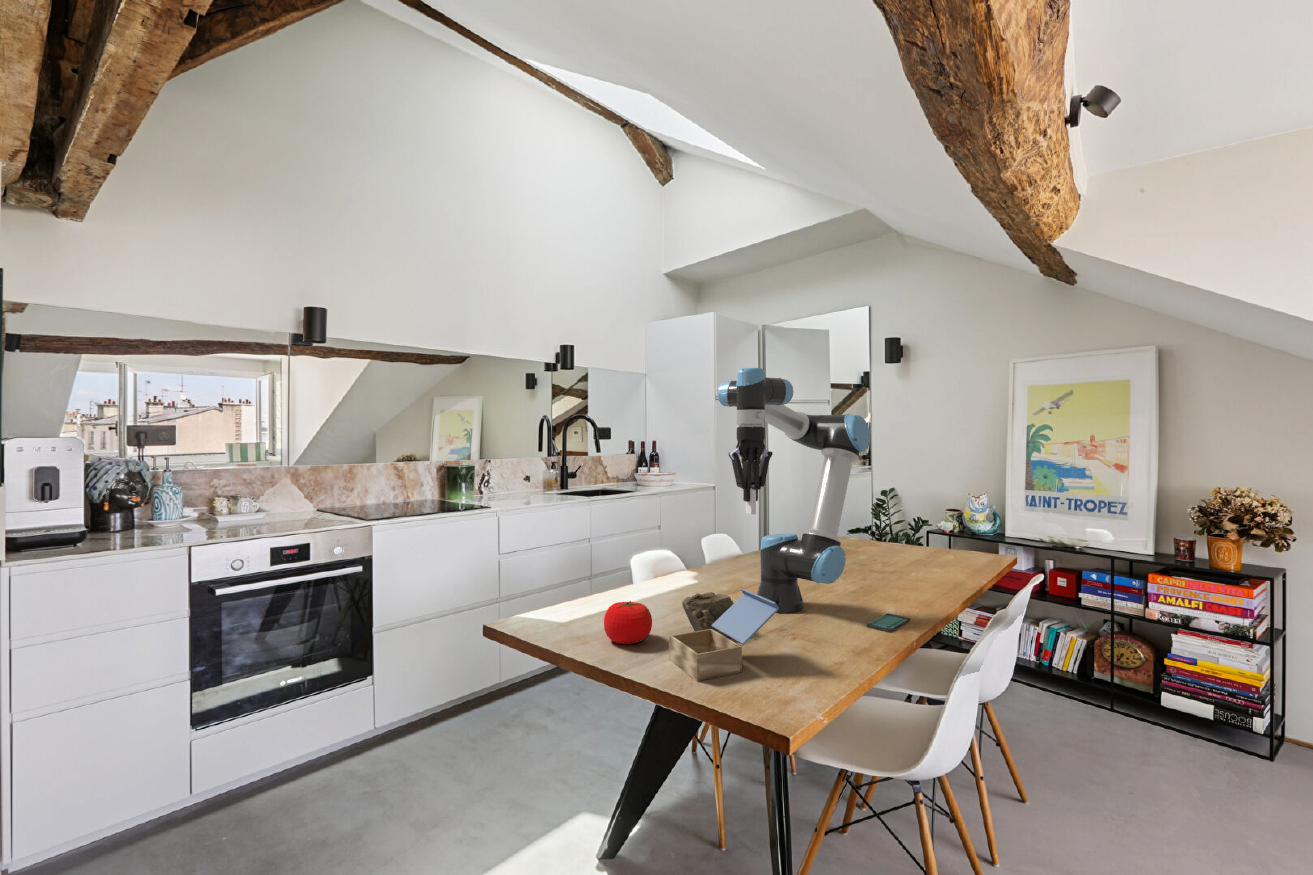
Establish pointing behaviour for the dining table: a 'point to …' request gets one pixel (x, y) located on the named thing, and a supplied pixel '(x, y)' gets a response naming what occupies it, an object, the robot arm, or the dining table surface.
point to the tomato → (627, 622)
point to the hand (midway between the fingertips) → (750, 513)
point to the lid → (745, 616)
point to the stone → (706, 610)
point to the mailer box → (705, 654)
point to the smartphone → (888, 622)
